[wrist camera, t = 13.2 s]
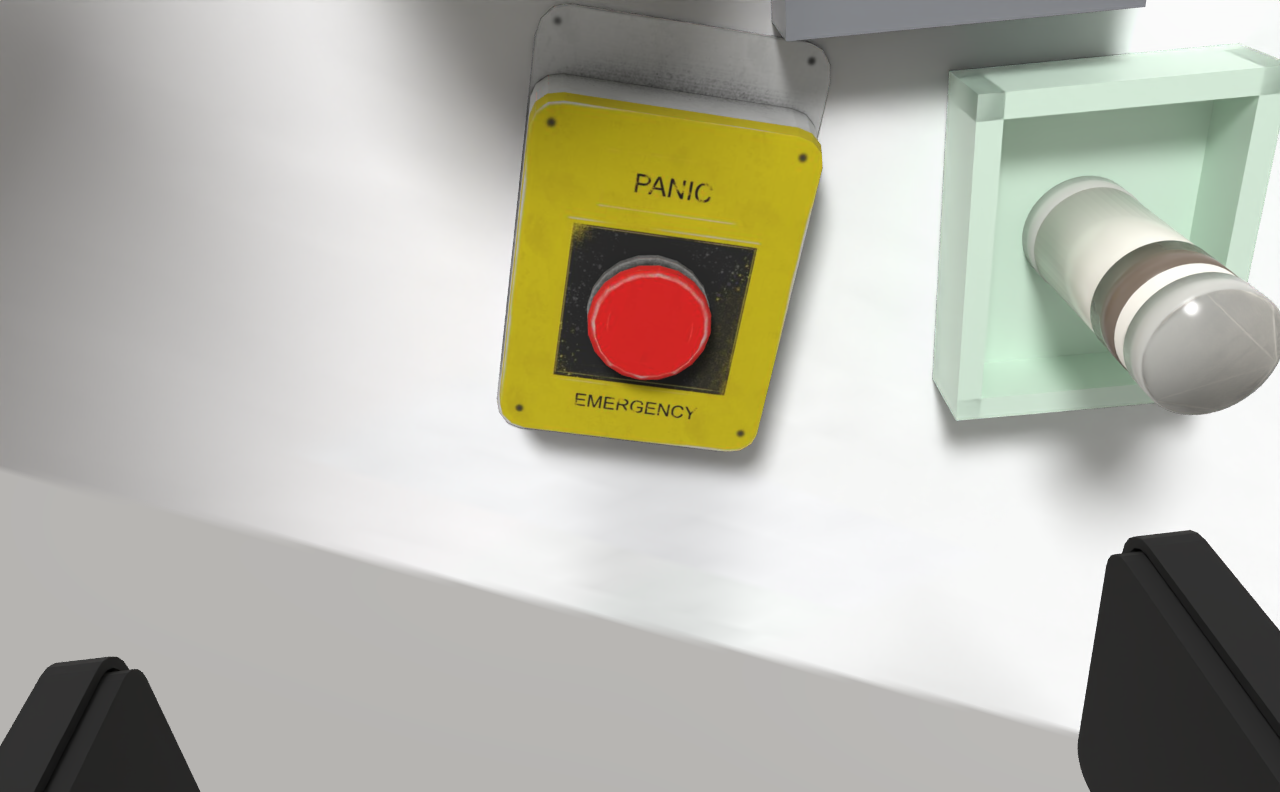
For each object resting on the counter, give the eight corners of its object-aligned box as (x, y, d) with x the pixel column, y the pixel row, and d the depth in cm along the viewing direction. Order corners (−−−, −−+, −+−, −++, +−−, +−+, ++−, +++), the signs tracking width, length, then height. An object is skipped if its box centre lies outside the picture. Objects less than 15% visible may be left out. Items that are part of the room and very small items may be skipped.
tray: (949, 71, 33) (977, 94, 31) (1239, 43, 33) (1293, 64, 31) (932, 378, 39) (955, 420, 36) (1181, 356, 39) (1223, 396, 36)
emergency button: (483, 482, 36) (530, 22, 29) (495, 415, 40) (539, -5, 32) (753, 512, 37) (864, 74, 30) (739, 445, 41) (835, 42, 33)
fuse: (1027, 181, 35) (1150, 294, 27) (1142, 170, 34) (1300, 281, 27) (1017, 286, 36) (1130, 421, 28) (1126, 276, 36) (1269, 408, 28)
